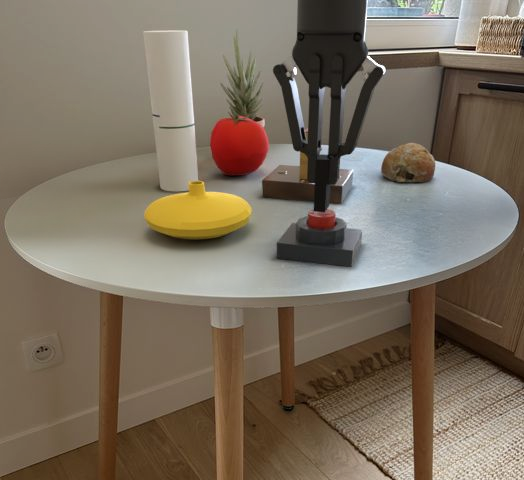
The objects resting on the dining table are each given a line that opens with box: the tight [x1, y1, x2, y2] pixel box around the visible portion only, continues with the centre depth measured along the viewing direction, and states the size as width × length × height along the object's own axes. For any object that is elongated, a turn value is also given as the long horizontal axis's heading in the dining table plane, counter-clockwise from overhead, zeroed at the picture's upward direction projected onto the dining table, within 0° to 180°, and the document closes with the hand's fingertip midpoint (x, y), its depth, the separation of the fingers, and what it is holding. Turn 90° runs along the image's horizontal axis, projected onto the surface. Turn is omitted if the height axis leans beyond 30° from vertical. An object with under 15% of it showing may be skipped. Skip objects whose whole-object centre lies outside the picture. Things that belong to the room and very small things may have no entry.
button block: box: [276, 215, 363, 267], centre depth 73 cm, size 10×8×4 cm
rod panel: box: [261, 164, 354, 205], centre depth 97 cm, size 14×11×3 cm
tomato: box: [209, 111, 270, 176], centre depth 105 cm, size 12×12×11 cm
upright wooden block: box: [299, 127, 308, 180], centre depth 94 cm, size 7×2×8 cm, turn 163°
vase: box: [143, 180, 253, 241], centre depth 79 cm, size 16×16×7 cm
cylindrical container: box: [142, 29, 199, 193], centre depth 95 cm, size 7×7×25 cm
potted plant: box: [220, 27, 266, 128], centre depth 116 cm, size 10×10×25 cm
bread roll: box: [380, 142, 436, 183], centre depth 104 cm, size 10×10×8 cm
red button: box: [307, 208, 337, 229], centre depth 71 cm, size 4×4×2 cm
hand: (321, 208), depth 71 cm, fingers closed
